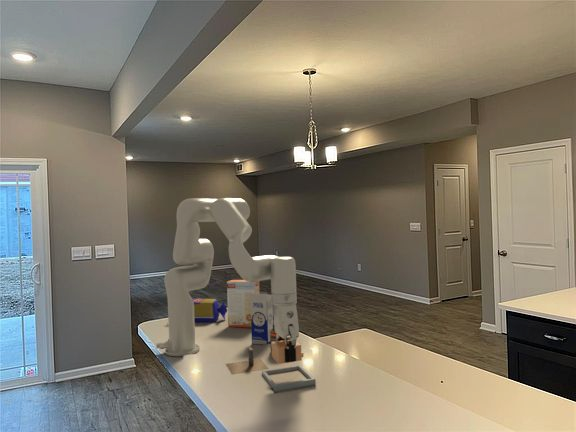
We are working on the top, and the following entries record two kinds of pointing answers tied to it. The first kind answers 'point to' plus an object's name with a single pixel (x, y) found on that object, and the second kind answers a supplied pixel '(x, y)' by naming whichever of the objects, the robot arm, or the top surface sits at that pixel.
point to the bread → (208, 310)
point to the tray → (291, 385)
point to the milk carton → (261, 318)
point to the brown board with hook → (247, 364)
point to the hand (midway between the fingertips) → (286, 357)
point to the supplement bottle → (273, 336)
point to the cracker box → (240, 302)
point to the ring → (279, 351)
